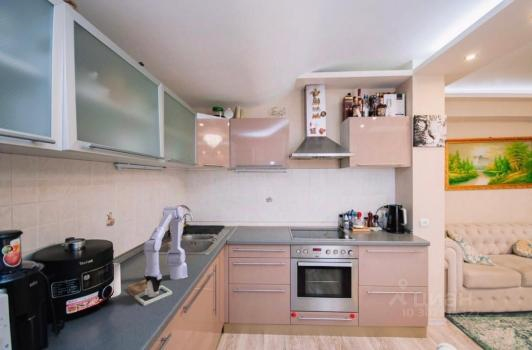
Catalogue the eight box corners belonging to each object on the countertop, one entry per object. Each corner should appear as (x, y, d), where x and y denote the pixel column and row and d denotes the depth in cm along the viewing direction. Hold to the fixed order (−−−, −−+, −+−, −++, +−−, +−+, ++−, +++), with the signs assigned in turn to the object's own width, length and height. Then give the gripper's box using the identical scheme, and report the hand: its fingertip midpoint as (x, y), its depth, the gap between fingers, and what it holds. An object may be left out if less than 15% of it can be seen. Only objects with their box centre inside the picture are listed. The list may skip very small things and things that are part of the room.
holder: (150, 281, 140) (149, 277, 140) (161, 288, 131) (161, 283, 131) (124, 291, 130) (123, 286, 129) (134, 299, 120) (134, 294, 120)
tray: (162, 289, 130) (162, 285, 130) (172, 295, 123) (172, 291, 123) (135, 300, 120) (134, 295, 120) (144, 307, 113) (144, 302, 113)
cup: (124, 291, 129) (123, 262, 129) (115, 299, 121) (114, 268, 121) (108, 292, 129) (107, 263, 129) (98, 300, 120) (97, 269, 120)
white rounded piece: (156, 290, 125) (155, 277, 125) (160, 294, 122) (160, 280, 122) (143, 296, 120) (142, 282, 120) (147, 299, 117) (147, 285, 117)
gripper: (138, 262, 123) (139, 288, 123) (151, 269, 114) (152, 297, 114) (152, 258, 128) (153, 283, 129) (165, 264, 119) (166, 291, 119)
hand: (153, 289), depth 122 cm, fingers closed on white rounded piece, 5 cm apart
